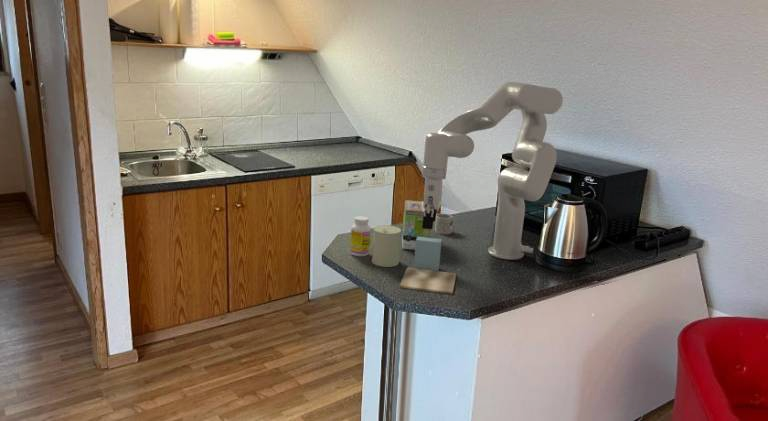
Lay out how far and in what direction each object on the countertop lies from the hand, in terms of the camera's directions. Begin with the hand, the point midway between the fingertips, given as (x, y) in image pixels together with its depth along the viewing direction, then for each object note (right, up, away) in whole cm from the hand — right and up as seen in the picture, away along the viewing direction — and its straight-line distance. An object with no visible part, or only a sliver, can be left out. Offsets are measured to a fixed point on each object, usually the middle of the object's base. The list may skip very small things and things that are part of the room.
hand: (428, 224), depth 193 cm
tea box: (-3, -8, +28) cm, 30 cm away
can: (-14, -13, +8) cm, 21 cm away
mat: (-1, -17, -6) cm, 19 cm away
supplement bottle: (-23, -11, +14) cm, 29 cm away
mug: (+9, -4, +46) cm, 47 cm away
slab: (-1, -15, +4) cm, 15 cm away
